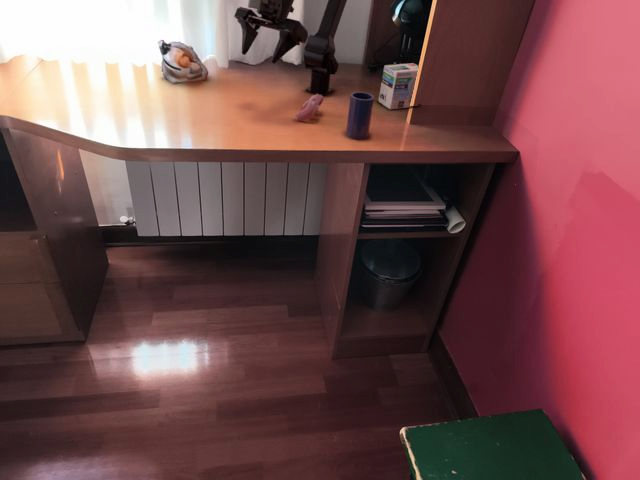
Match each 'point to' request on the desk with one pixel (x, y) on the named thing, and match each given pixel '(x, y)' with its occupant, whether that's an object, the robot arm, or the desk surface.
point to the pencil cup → (359, 115)
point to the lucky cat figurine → (181, 62)
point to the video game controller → (310, 108)
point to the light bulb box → (398, 85)
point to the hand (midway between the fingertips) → (257, 58)
